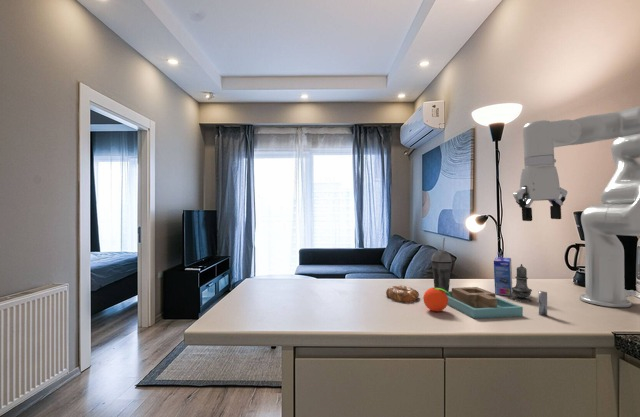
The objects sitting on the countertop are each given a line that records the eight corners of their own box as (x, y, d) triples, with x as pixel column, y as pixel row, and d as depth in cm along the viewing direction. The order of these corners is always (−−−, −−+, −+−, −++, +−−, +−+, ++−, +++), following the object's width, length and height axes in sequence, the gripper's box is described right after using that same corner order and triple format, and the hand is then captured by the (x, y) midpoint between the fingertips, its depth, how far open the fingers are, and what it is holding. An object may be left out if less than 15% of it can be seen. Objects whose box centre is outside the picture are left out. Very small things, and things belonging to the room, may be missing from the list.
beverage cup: (426, 291, 120) (426, 237, 120) (443, 290, 122) (443, 236, 122) (439, 296, 113) (439, 239, 113) (457, 295, 115) (456, 238, 115)
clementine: (454, 310, 98) (454, 286, 98) (448, 316, 92) (448, 291, 92) (427, 306, 102) (427, 283, 102) (420, 312, 96) (420, 287, 96)
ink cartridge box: (495, 288, 125) (495, 250, 125) (512, 290, 122) (512, 251, 122) (493, 294, 116) (493, 253, 116) (511, 296, 113) (511, 254, 113)
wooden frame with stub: (477, 299, 108) (476, 286, 108) (507, 312, 94) (507, 298, 94) (451, 300, 106) (451, 288, 106) (478, 313, 93) (478, 299, 93)
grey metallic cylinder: (543, 313, 94) (543, 291, 94) (549, 315, 92) (548, 292, 92) (537, 313, 94) (536, 291, 94) (542, 316, 92) (542, 293, 92)
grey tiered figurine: (535, 302, 105) (535, 265, 106) (515, 301, 107) (515, 265, 107) (527, 298, 111) (527, 262, 111) (508, 297, 112) (508, 262, 112)
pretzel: (423, 304, 106) (423, 292, 106) (390, 303, 106) (390, 292, 106) (414, 294, 118) (414, 283, 118) (384, 293, 118) (384, 283, 118)
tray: (478, 297, 112) (478, 290, 112) (522, 316, 92) (522, 307, 92) (437, 299, 110) (437, 291, 110) (474, 318, 90) (474, 309, 90)
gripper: (553, 163, 103) (556, 218, 103) (504, 165, 101) (506, 221, 101) (575, 160, 96) (578, 218, 96) (522, 162, 93) (525, 222, 93)
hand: (541, 219), depth 98 cm, fingers open, 9 cm apart
